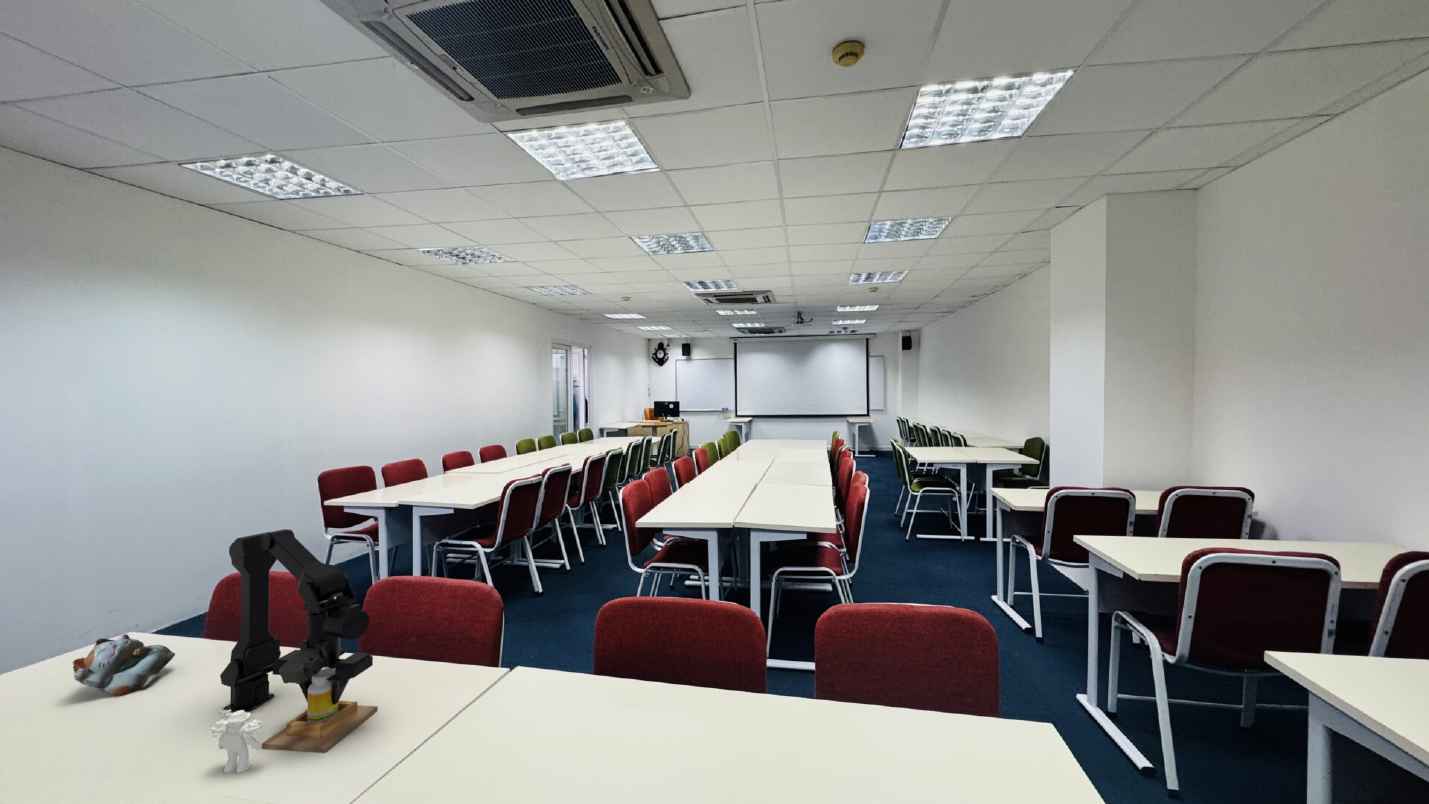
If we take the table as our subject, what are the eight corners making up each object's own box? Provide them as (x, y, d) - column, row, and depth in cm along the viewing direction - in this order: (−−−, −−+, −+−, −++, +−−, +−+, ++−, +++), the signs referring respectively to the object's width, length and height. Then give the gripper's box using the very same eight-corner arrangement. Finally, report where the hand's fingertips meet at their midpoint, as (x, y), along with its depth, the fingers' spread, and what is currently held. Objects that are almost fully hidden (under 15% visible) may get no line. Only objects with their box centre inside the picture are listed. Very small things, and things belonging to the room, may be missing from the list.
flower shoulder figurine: (204, 775, 95) (205, 711, 95) (225, 761, 99) (226, 699, 99) (251, 776, 94) (252, 712, 95) (270, 761, 98) (271, 700, 99)
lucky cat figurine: (136, 696, 120) (92, 655, 115) (87, 717, 119) (41, 676, 115) (188, 650, 134) (151, 611, 130) (144, 668, 134) (106, 630, 129)
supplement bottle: (307, 715, 109) (307, 671, 109) (337, 706, 112) (338, 663, 113) (307, 728, 105) (307, 682, 105) (339, 718, 108) (339, 673, 108)
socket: (261, 748, 102) (261, 731, 102) (320, 707, 116) (320, 692, 116) (325, 752, 101) (325, 735, 101) (377, 710, 115) (377, 695, 115)
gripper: (247, 646, 101) (245, 723, 101) (332, 651, 100) (331, 729, 100) (297, 623, 113) (296, 692, 112) (375, 626, 111) (374, 697, 111)
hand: (322, 703), depth 109 cm, fingers closed on supplement bottle, 5 cm apart
